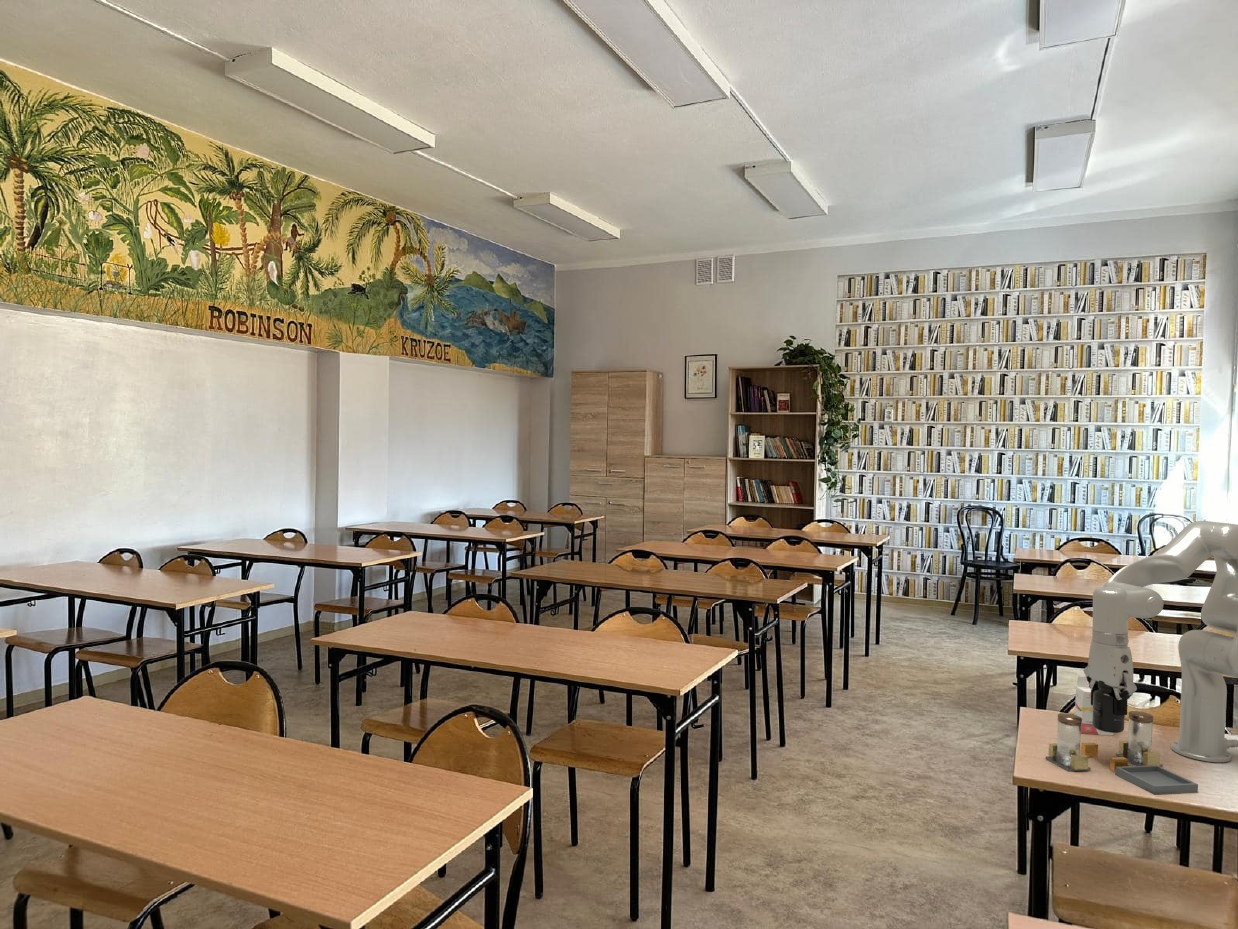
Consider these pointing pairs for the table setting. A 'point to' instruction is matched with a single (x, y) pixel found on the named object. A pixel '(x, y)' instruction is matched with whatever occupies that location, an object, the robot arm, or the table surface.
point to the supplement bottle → (1106, 710)
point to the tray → (1156, 779)
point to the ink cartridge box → (1085, 707)
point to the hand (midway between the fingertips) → (1108, 709)
